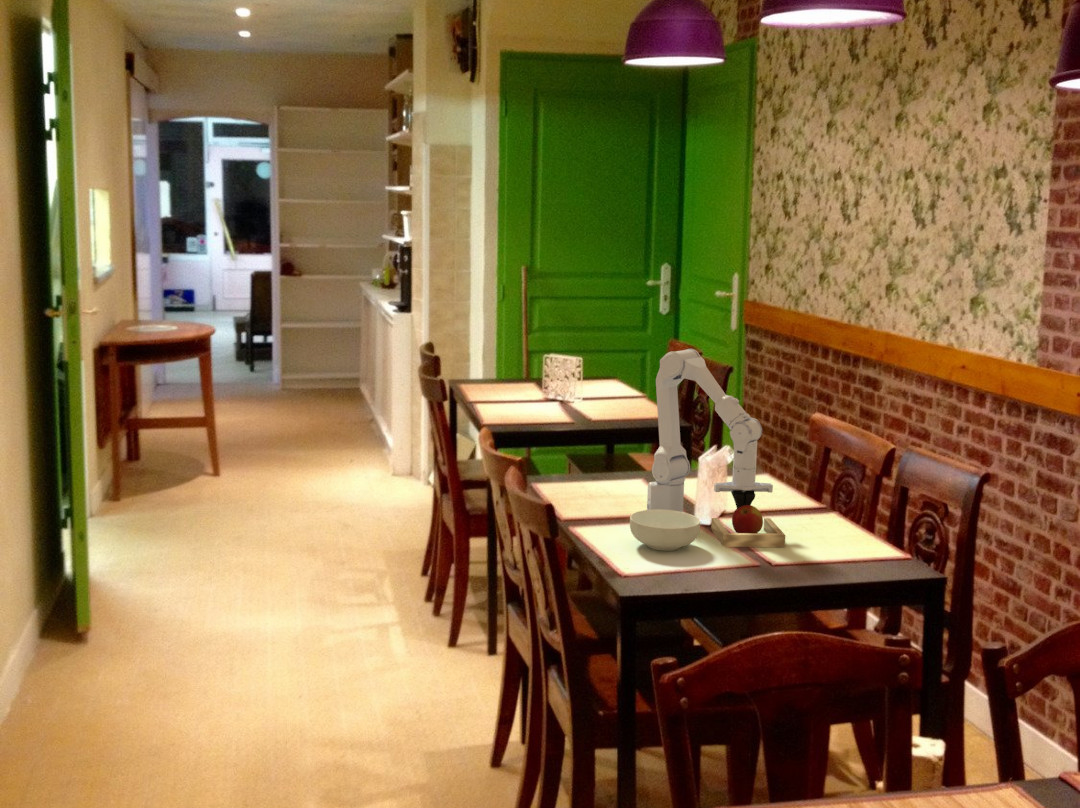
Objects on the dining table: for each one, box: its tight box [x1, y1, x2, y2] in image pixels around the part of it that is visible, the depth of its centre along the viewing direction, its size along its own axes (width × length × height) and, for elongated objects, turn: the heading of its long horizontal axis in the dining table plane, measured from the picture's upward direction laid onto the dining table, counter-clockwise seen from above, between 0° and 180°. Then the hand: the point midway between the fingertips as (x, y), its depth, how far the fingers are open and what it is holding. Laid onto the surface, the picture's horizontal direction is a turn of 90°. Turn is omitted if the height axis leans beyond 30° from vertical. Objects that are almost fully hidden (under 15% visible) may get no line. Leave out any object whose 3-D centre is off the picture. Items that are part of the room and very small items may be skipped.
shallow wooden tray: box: [710, 517, 786, 548], centre depth 315 cm, size 15×16×3 cm
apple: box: [731, 504, 764, 533], centre depth 316 cm, size 8×8×8 cm
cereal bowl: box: [629, 509, 701, 552], centre depth 306 cm, size 17×17×7 cm
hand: (741, 519), depth 322 cm, fingers closed, pressing on apple
